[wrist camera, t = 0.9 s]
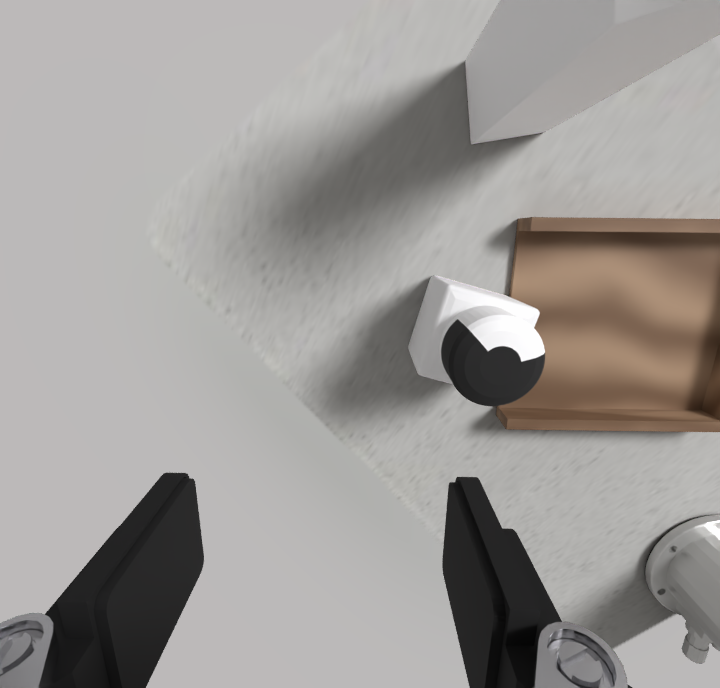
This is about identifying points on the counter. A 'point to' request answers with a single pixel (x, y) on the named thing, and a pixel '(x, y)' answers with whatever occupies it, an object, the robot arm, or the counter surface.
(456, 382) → the medicine bottle
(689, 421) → the walnut tray
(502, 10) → the milk
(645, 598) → the counter surface
